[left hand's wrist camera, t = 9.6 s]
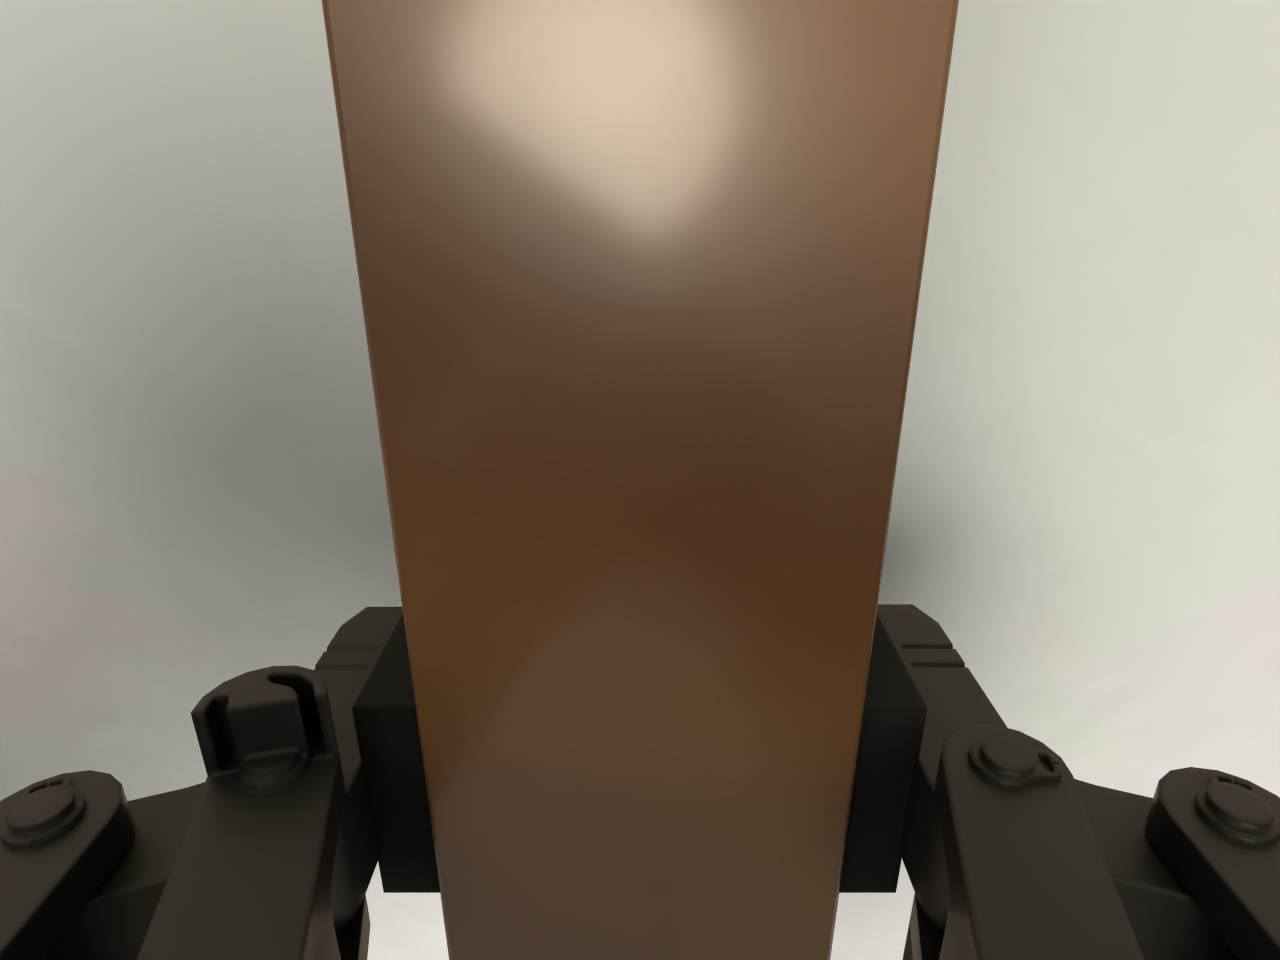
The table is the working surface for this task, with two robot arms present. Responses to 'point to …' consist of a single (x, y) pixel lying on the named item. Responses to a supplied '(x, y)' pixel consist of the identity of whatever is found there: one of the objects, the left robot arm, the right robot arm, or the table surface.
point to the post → (640, 439)
